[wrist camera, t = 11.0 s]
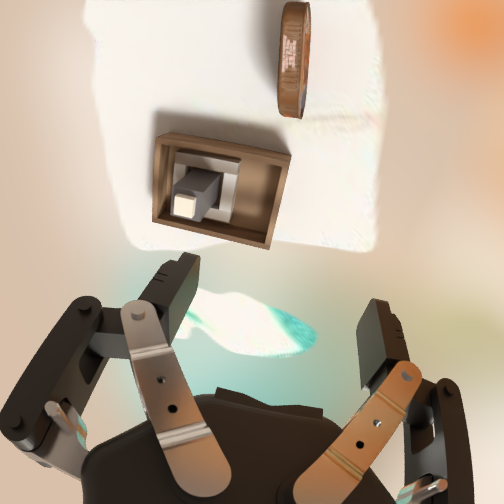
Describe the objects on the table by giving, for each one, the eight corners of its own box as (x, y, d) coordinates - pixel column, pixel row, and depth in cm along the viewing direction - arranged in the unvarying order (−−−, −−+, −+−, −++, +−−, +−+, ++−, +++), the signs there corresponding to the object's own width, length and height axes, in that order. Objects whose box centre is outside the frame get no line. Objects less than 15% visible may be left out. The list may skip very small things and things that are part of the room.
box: (168, 132, 40) (156, 137, 37) (291, 155, 39) (290, 162, 36) (162, 211, 47) (152, 221, 44) (272, 236, 46) (269, 250, 43)
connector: (194, 167, 42) (169, 188, 34) (221, 173, 42) (200, 195, 34) (191, 192, 44) (167, 218, 36) (217, 198, 44) (197, 225, 36)
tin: (304, 116, 36) (303, 123, 29) (280, 113, 37) (273, 120, 30) (312, 12, 28) (313, -6, 21) (287, 9, 29) (282, -9, 22)
